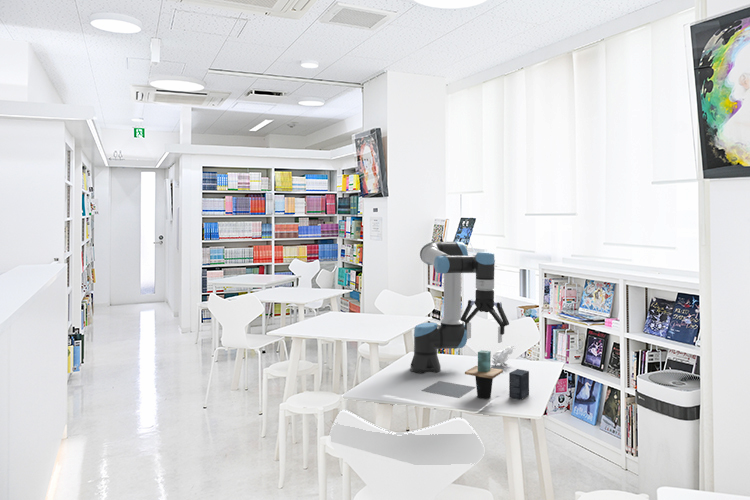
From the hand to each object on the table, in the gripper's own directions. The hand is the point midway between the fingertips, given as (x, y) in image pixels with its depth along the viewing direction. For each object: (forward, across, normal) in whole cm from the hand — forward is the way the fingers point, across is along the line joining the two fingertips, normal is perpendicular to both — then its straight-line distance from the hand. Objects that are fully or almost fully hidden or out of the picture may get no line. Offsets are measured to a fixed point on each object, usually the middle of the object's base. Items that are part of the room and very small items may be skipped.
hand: (484, 340), depth 219 cm
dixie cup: (+25, 0, -1) cm, 25 cm away
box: (+25, +12, +11) cm, 30 cm away
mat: (+25, -16, +1) cm, 30 cm away
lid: (+14, 0, 0) cm, 14 cm away
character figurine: (+26, -12, +57) cm, 64 cm away
